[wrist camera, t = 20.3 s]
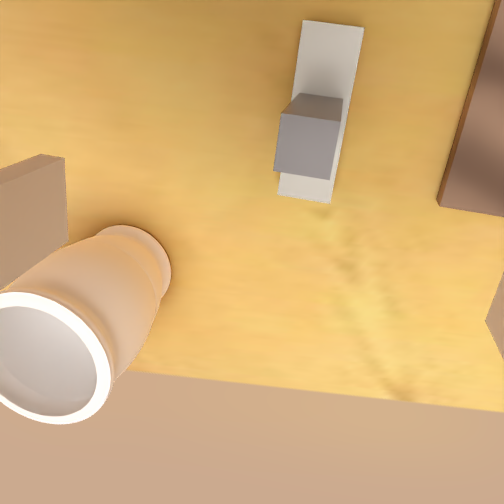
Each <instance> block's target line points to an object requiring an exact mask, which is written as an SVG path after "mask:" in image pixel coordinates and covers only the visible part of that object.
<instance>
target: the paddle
mask: <svg viewBox="0 0 504 504" xmlns="http://www.w3.org/2000/svg"><path fill="white" fill-rule="evenodd" d="M364 29H365V28H364V27H356V26H349V25H341V24H333V23H325V22H317V21H309V20H303V23H302V30H301V37H300V44H299V51H298V57H297V64H296V71H295V78H294V85H293V92H292V98H291V103H290V104H289V105H288V106H287V107H286V108H285V109H284V111H283V112H282V113H281V118H280V125H279V133H278V140H277V147H276V154H275V161H274V169H273V171H276V172H281V174H280V181H279V187H278V194H277V195H282V196H288V197H294V198H299V199H305V200H311V201H317V202H323V203H329V204H330V201H331V196H332V191H333V186H334V181H335V176H336V171H337V166H338V161H339V156H340V151H341V146H342V140H343V135H344V130H345V125H346V120H347V115H348V110H349V105H350V100H351V95H352V90H353V85H354V79H355V74H356V69H357V64H358V59H359V54H360V49H361V44H362V39H363V34H364Z"/></svg>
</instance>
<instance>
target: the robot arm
mask: <svg viewBox="0 0 504 504" xmlns="http://www.w3.org/2000/svg"><path fill="white" fill-rule="evenodd" d="M68 241H69V240H68V220H67V201H66V181H65V161H64V158H61V157H55V156H50V155H44V154H40V155H37V156H34V157H32V158H29V159H26V160H24V161H21V162H18V163H16V164H13V165H10V166H8V167H5V168H2V169H0V290H2V289H3V288H4V287H6V286H7V285H9V284H10V283H11V282H13V281H14V280H16V279H17V278H18V277H20V276H21V275H22V274H24V273H25V272H27V271H28V270H29V269H31V268H32V267H33V266H35V265H36V264H38V263H39V262H40V261H42V260H43V259H45V258H46V257H47V256H49V255H50V254H51V253H53V252H54V251H56V250H57V249H58V248H60V247H61V246H62V245H64V244H65V243H67V242H68ZM485 322H486V324H487V326H488V328H489V330H490V332H491V335H492V337H493V339H494V341H495V343H496V345H497V347H498V349H499V351H500V353H501V355H502V358H503V360H504V273H503V275H502V278H501V281H500V283H499V286H498V288H497V291H496V294H495V296H494V299H493V301H492V304H491V307H490V309H489V312H488V314H487V317H486V320H485Z"/></svg>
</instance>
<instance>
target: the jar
mask: <svg viewBox="0 0 504 504" xmlns="http://www.w3.org/2000/svg"><path fill="white" fill-rule="evenodd" d="M170 280H171V266H170V262H169V259H168V256H167V254H166V252H165V251H164V249H163V247H162V246H161V245H160V244H159V242H158V241H157V240H156V239H155V238H153V237H152V236H151V235H150V234H148V233H147V232H145V231H143V230H141V229H139V228H136V227H132V226H127V225H115V226H111V227H107V228H105V229H103V230H101V231H100V232H98V233H97V234H96V235H95V236H94V237H90V238H86V239H84V240H81V241H78V242H76V243H74V244H72V245H69V246H67V247H64V248H62V249H60V250H57V251H55V252H53V253H51V254H50V255H49V256H47V257H46V258H45V259H43V260H42V261H40V262H39V263H38V264H36V265H35V266H33V267H32V268H31V269H29V270H28V271H27V272H25V273H24V274H22V275H21V276H20V277H19V278H18V279H17V280H16V281H15V282H14V283H13V284H12V285H11V286H10V287H9V288H8V289H7V290H3V291H0V401H1V402H2V403H3V404H4V405H6V406H7V407H9V408H10V409H12V410H14V411H15V412H17V413H19V414H21V415H23V416H25V417H28V418H30V419H33V420H36V421H40V422H45V423H51V424H69V423H75V422H79V421H82V420H84V419H87V418H88V417H90V416H92V415H93V414H94V413H95V412H97V411H98V410H99V409H100V408H101V406H102V405H103V404H104V402H105V401H106V400H107V398H108V397H109V395H110V393H111V390H112V387H113V384H114V381H115V380H116V379H117V378H118V377H119V376H120V375H121V374H122V373H123V372H124V371H125V370H126V369H127V368H128V366H129V365H130V364H131V363H132V361H133V360H134V359H135V357H136V356H137V355H138V353H139V351H140V350H141V348H142V347H143V345H144V343H145V341H146V339H147V337H148V335H149V332H150V330H151V327H152V324H153V321H154V319H155V316H156V314H157V312H158V309H159V305H160V301H161V298H162V297H163V296H164V294H165V293H166V291H167V289H168V287H169V284H170Z"/></svg>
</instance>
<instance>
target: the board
mask: <svg viewBox="0 0 504 504" xmlns="http://www.w3.org/2000/svg"><path fill="white" fill-rule="evenodd" d="M436 201H437V202H438V204H439V206H441V207H447V208H453V209H459V210H465V211H471V212H477V213H483V214H489V215H495V216H501V217H504V0H495V3H494V7H493V10H492V14H491V17H490V20H489V24H488V27H487V31H486V34H485V37H484V41H483V44H482V47H481V51H480V54H479V58H478V61H477V64H476V68H475V71H474V75H473V78H472V81H471V85H470V88H469V91H468V95H467V98H466V102H465V105H464V108H463V112H462V115H461V118H460V122H459V125H458V129H457V132H456V135H455V139H454V142H453V146H452V149H451V152H450V156H449V159H448V162H447V166H446V169H445V173H444V176H443V179H442V183H441V186H440V190H439V193H438V196H437V200H436Z"/></svg>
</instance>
